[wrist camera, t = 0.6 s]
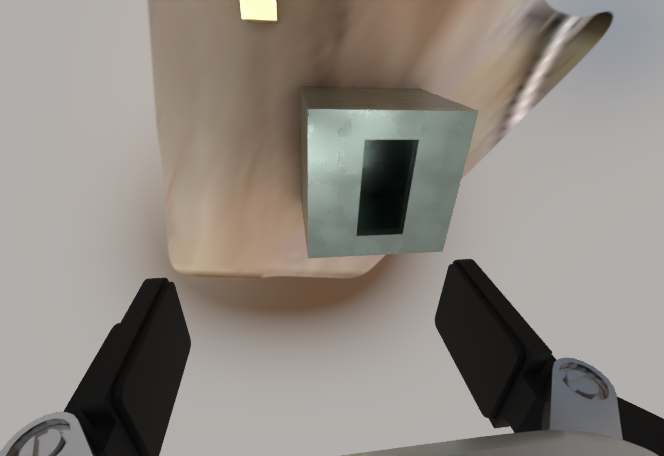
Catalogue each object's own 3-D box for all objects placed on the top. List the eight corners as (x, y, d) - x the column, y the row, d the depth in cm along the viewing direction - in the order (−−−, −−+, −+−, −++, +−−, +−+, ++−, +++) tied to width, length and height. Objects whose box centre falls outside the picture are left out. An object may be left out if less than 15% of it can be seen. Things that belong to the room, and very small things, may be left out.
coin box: (299, 86, 30) (307, 109, 21) (420, 89, 32) (478, 111, 23) (301, 201, 36) (308, 258, 27) (403, 198, 38) (442, 251, 29)
